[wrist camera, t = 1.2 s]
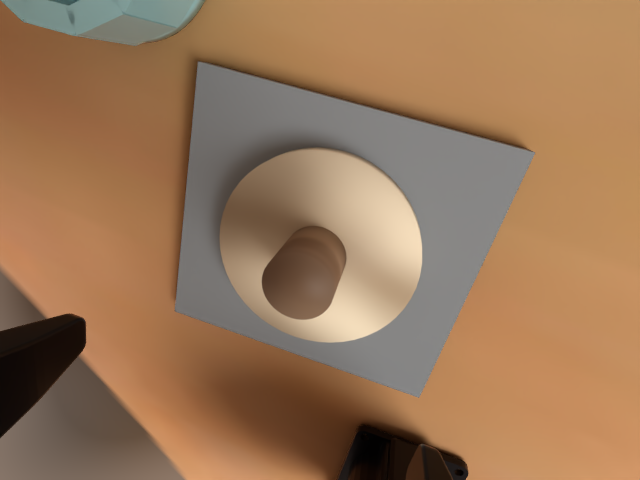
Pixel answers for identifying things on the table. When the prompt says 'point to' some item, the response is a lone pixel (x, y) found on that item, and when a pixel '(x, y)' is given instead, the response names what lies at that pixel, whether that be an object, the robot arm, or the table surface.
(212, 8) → the table surface
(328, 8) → the table surface
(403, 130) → the mat
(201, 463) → the table surface
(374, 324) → the lid
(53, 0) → the bowl
